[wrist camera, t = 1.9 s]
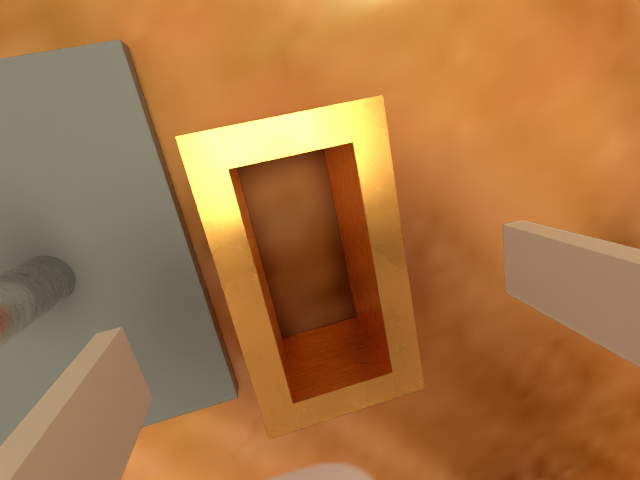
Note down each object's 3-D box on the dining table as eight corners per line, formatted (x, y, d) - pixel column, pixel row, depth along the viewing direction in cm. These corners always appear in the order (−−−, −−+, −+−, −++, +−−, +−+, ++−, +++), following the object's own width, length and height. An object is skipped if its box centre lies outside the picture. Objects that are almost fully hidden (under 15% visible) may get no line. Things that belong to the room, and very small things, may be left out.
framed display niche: (381, 330, 23) (424, 388, 17) (264, 365, 22) (269, 439, 16) (343, 114, 19) (382, 95, 13) (200, 143, 18) (175, 136, 12)
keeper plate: (238, 387, 22) (237, 397, 21) (2, 458, 20) (-11, 473, 19) (127, 46, 16) (120, 39, 15) (-210, 101, 14) (-243, 97, 14)
